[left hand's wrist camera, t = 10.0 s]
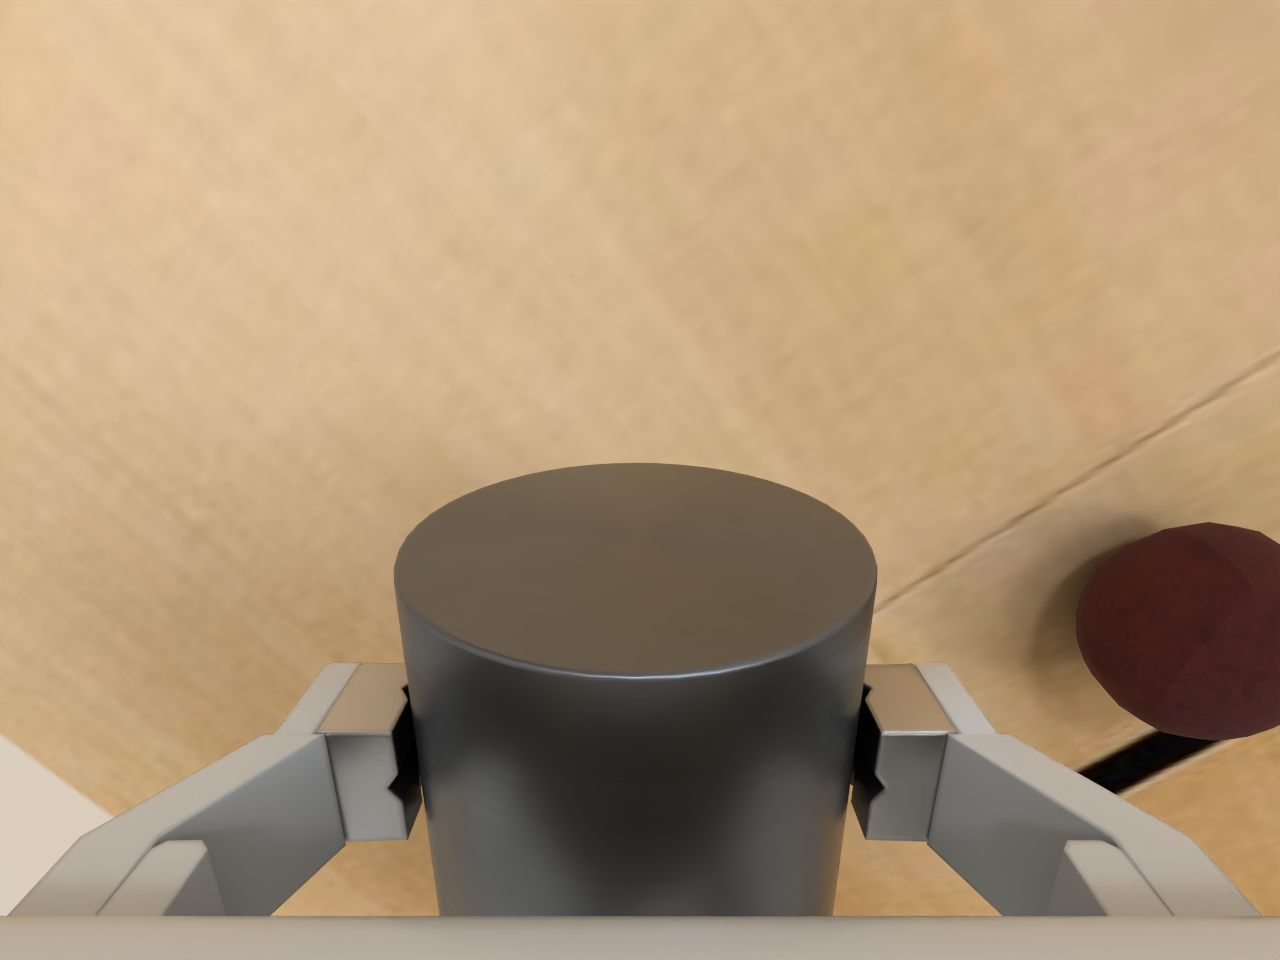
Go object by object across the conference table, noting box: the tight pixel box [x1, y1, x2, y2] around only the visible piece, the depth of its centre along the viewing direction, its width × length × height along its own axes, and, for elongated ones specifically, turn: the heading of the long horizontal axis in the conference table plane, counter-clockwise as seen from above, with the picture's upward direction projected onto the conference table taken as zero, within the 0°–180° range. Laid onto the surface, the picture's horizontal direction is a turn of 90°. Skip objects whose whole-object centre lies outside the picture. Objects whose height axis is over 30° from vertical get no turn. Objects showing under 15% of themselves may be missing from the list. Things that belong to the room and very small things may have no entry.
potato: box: [1076, 522, 1280, 740], centre depth 25 cm, size 7×8×7 cm
